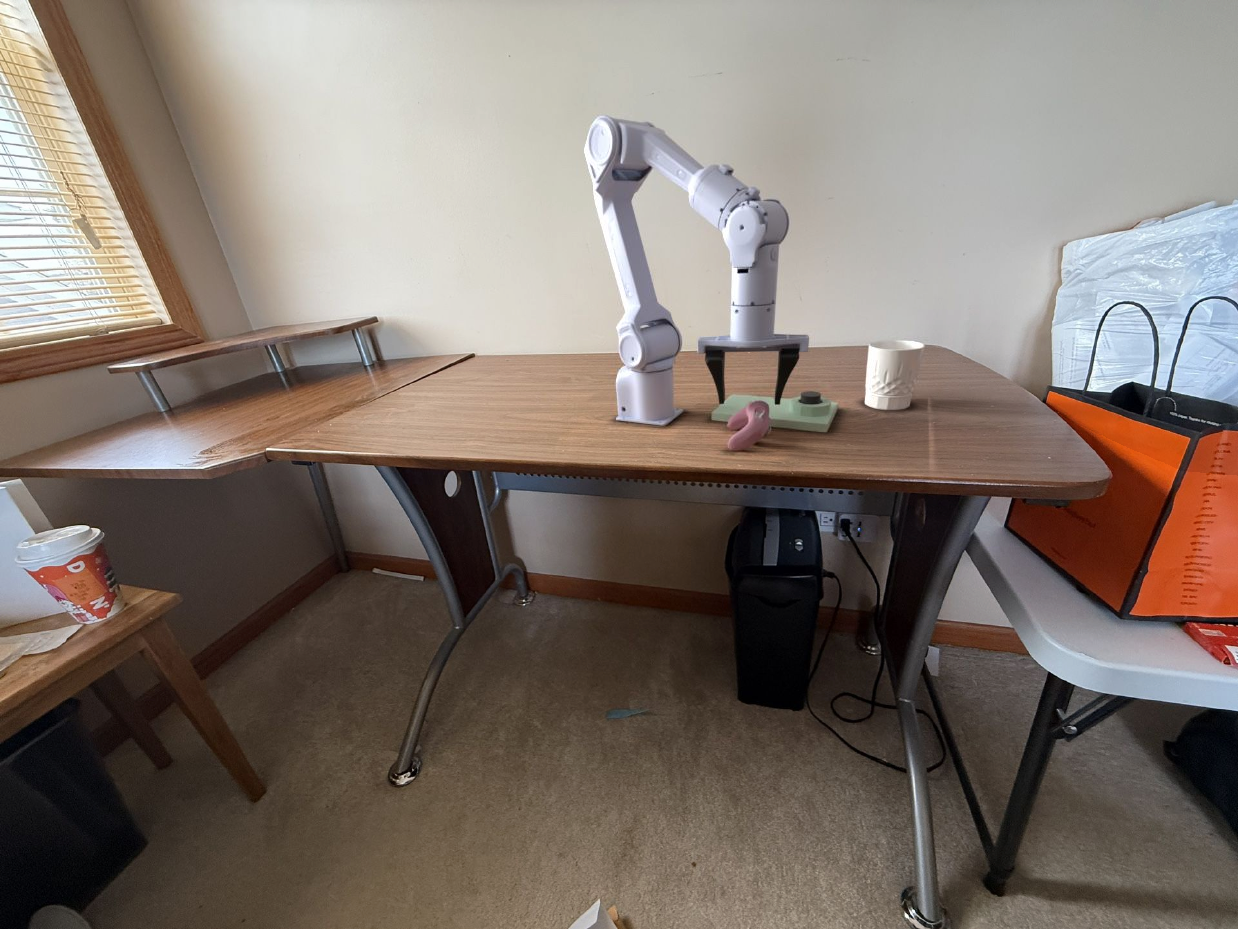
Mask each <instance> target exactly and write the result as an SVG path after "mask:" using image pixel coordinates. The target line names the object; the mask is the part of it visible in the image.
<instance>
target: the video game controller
mask: <svg viewBox="0 0 1238 929" xmlns="http://www.w3.org/2000/svg"><path fill="white" fill-rule="evenodd" d="M770 422H771V418H769V405H768V404H767V403H766V402H764V401H761V400H759V401H756V400H755V399H754V400H753V402H749V403H748V404H747V405H746V406H745V407H744V408H743V409H742V410H740V411H739V412H737V413H736V414H734V415H733V416H732V417H731V418H730V419H729V421H728V422H727V424H726V425H727V428H728V429H729V430H730V431H737V432H736V433H734V434H733V435H732V436H731V437H730V438H729V439H728V441H727V448H728V449H729V450H730V451H731V452H739V451H740V452H741V451H744V450H746V449H748V448H750V447H751V446H754V445H756V443H757V442H758V441H759V440H762V438H763V437H764V436H765V435H766V436H767V435H769V434H770V433H771V431H772V427H771V426H769V425H770Z"/></svg>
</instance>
